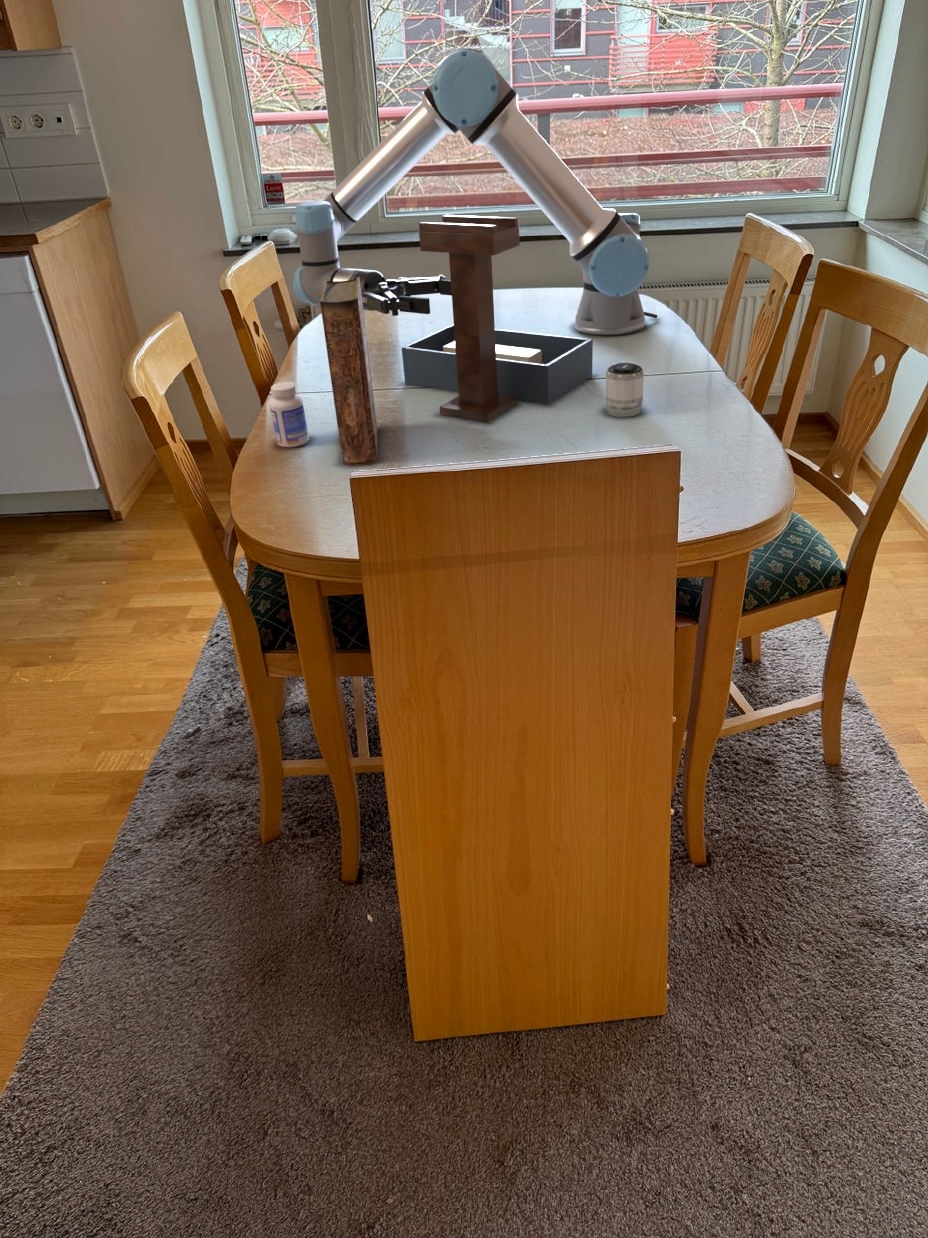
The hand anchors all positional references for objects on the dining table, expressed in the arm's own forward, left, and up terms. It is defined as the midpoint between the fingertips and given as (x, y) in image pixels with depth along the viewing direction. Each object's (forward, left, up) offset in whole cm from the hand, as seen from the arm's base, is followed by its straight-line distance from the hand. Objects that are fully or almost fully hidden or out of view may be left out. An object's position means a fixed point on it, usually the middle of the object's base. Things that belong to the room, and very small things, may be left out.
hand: (449, 297), depth 172 cm
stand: (-6, +21, -15) cm, 26 cm away
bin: (-9, +5, -15) cm, 18 cm away
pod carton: (-8, +4, -13) cm, 15 cm away
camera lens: (-31, +25, -15) cm, 42 cm away
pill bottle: (+25, +33, -15) cm, 44 cm away
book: (+13, +36, -15) cm, 41 cm away
